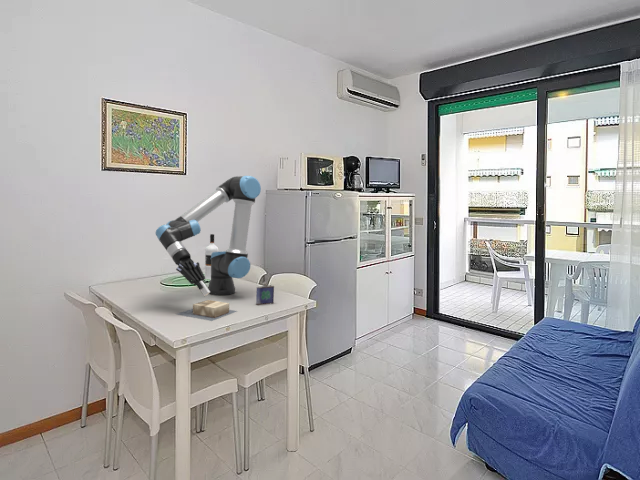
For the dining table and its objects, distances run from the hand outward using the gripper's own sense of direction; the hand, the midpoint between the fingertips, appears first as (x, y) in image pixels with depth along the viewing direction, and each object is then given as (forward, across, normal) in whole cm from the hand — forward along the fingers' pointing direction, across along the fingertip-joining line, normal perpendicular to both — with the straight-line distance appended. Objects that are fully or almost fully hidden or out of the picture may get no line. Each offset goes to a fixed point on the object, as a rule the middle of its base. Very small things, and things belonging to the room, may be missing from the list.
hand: (207, 294), depth 176 cm
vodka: (-27, -60, -40) cm, 77 cm away
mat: (+6, 0, -7) cm, 9 cm away
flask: (+15, -29, +2) cm, 33 cm away
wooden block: (+2, 0, -7) cm, 7 cm away
